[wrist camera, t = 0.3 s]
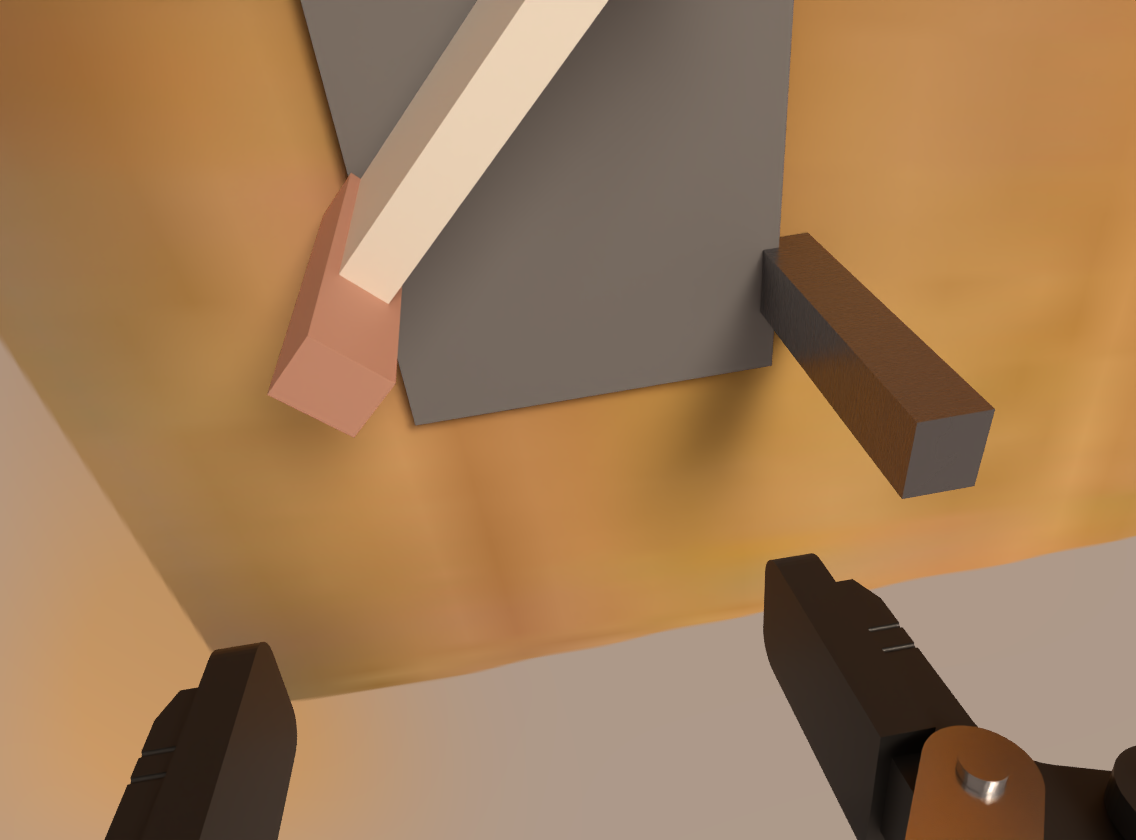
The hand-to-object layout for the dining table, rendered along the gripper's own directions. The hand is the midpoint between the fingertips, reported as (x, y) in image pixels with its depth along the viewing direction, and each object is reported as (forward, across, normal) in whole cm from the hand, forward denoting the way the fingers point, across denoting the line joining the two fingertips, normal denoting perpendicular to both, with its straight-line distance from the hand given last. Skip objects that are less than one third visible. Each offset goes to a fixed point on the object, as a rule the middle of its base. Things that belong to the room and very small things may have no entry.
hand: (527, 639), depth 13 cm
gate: (+20, -2, -9) cm, 22 cm away
